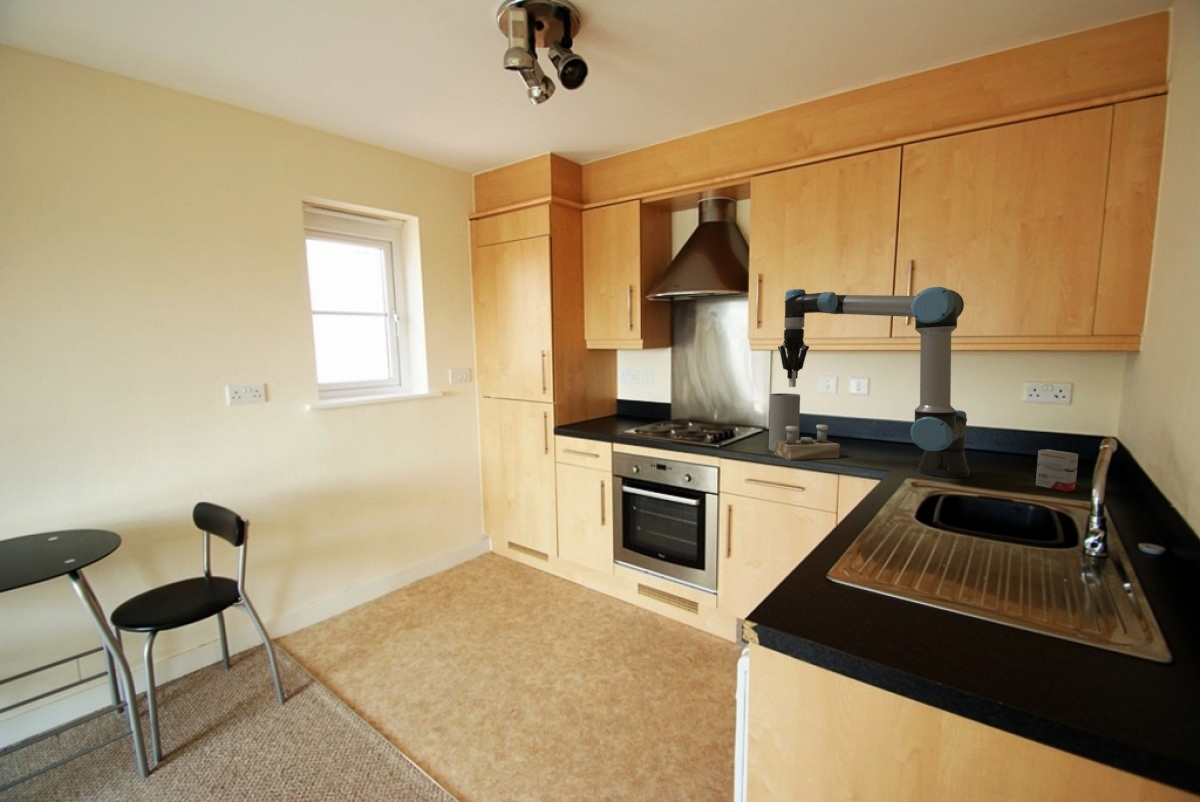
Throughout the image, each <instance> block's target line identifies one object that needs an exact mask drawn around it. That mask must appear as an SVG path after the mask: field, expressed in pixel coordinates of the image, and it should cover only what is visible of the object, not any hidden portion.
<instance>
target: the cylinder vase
mask: <svg viewBox="0 0 1200 802" xmlns="http://www.w3.org/2000/svg"><path fill="white" fill-rule="evenodd" d="M800 409H801V394H800V393H799V394H798V393H787V392H786V393H783V392H782V393H776V392H775V393H770V394H769V414H768V415H769V418H768V419H769V421H768V429H769V430H768V450H769V451H772V452H775V441H787V431H786V426H796V427H798V431H796V440H800V420H801V419H800V413H801V410H800Z"/></svg>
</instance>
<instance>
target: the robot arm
mask: <svg viewBox="0 0 1200 802" xmlns="http://www.w3.org/2000/svg"><path fill="white" fill-rule="evenodd" d="M964 308H965V303H964V298H963V297H962V296H961V294H960V293H958V292H957V291H955V290H952V289H950V288H949V289H948V288H946V287H943V286H934V287H933V286H932V287H928V288H925V289H923V290H921V291H920V292H919V293H918V294H916V295H886V294H885V295H884V294H883V295H876V294H875V295H872V294H871V295H867V294H866V295H865V294H863V295H862V294H860V295H859V294H837V293H835V292H834V291H823V292H814V293H813V292H812V293H806V290H805V289H803V288H800V289H799V288H798V289H795V288H794V289H793V288H792V289H789V290H786V292H785V297H784V330H783V331H784V332H783V337H784V340H783V343H782V344H781V345H779V346H777V350H778V351H779V355H780V360H781V364H782V368H783V370H786V372H787V373H786V375H787V379H788V387H790V388H796V386H797V385H796V384H797V379H798V378H799V377H798V375H799V371H801V370H803V368H804V364H805V360H806V357H807V352H808V350H809V349H810V345H807V344H805V341H804V338H805V329H804V328H805V316H806V315H805V314H813V313H819V314H821V313H822V314H829V315H858V316H859V315H860V316H884V317H905V318H906V317H907V318H908V317H910V318H915V319H914V320H915V322H914V330H915V331H916V332H917V333H919V335H920V341H919V342H920V343H919V344H920V345H919V346H920V349H919V350H920V355H919V356H920V358H919V362H920V363H919V365H920V367H919V369H920V370H919V371H920V373H919V374H920V375H919V385H920V386H919V405H918V406H917V407H916V408H915V409H914V422H913V424H912V425H911V428H910V437H911V440H912V441H913V443H914V444H915V445H916V446H917V447H918V448H920V449H922V450H924V452H923V454H922V457H921V459H920V462H919V463H918V468H917V469H918V471H919V472H920V473H922V474H925V475H929V476H933V477H934V476H935V477H941V478H950V479H958V478H959V479H962V478H968V477H969V476H970V467H969V466H968V462H967V458H966V454H965V451H966V450H965V448H966V434H967V421H968V418H967V412H965V411H963V410H960V409H959V410H958V409H955V408H954V407H953V406H952V405H951V400H952V399H951V397H952V396H951V392H952V391H951V389H952V388H951V387H952V386H951V384H952V378H951V377H952V333H953V331H955V330H956V329H957V328H958V318H959V317H960V316H961V314H962V313H963V310H964Z"/></svg>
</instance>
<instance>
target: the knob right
mask: <svg viewBox="0 0 1200 802" xmlns="http://www.w3.org/2000/svg"><path fill="white" fill-rule="evenodd" d="M815 429H816V430H817V433H816V439H817V443H826V441H828V440H827V437H828V436H827V435H828V434H827V433H828V430H829V425H827V424H816V427H815Z"/></svg>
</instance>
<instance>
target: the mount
mask: <svg viewBox="0 0 1200 802" xmlns="http://www.w3.org/2000/svg"><path fill="white" fill-rule="evenodd" d="M840 446H841V445H840V443H837V442H833V441H829V440H826V443H817V438H815V439H813V442H811V444H803V443H802V442H801V439H799V440H796V445H788V444H787V441H775V451H774V453H773V454H774V455H776V456H777V457H780V458H783V459H786V460H788V461H803V460H818V459H835V458H840V448H841V447H840Z"/></svg>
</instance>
